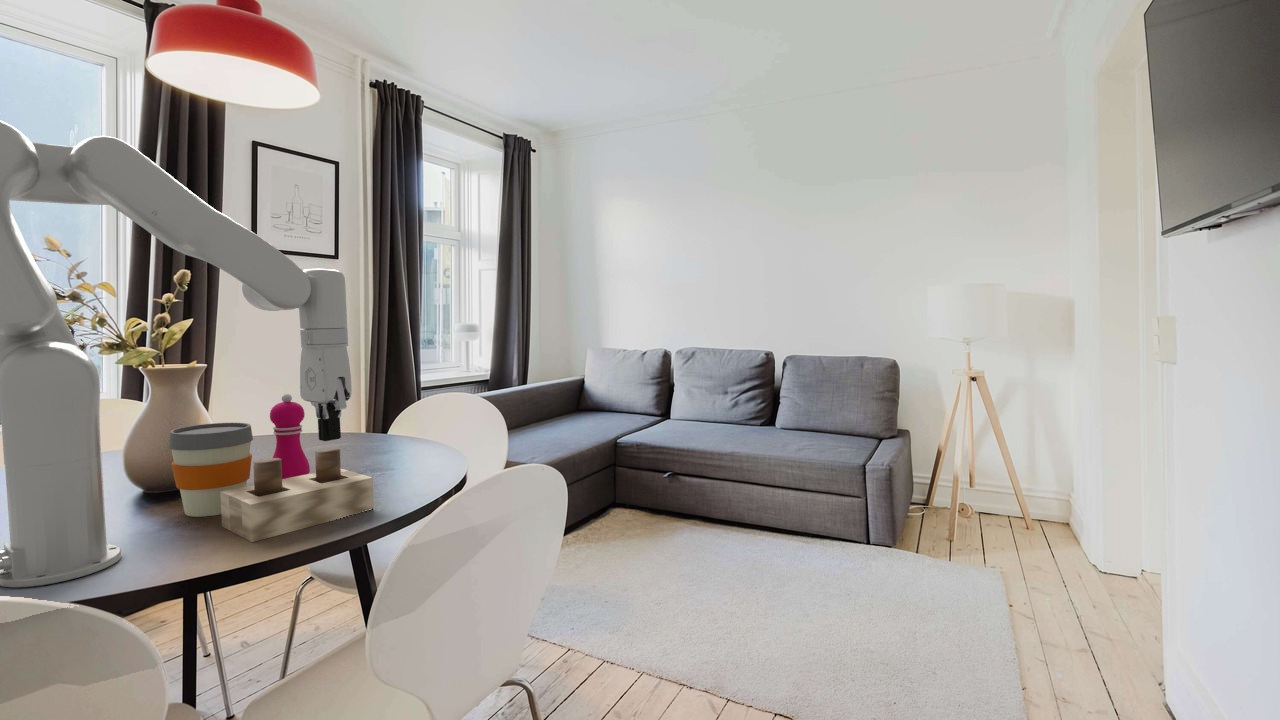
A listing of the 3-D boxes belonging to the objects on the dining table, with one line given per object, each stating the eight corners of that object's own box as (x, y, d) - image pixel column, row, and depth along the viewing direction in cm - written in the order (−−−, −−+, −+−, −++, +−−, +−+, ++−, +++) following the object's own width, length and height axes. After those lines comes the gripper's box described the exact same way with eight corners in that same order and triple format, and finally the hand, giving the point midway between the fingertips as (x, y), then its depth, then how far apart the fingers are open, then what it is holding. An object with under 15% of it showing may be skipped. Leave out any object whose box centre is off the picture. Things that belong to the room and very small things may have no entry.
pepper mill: (291, 498, 116) (288, 396, 115) (260, 496, 118) (256, 395, 116) (318, 488, 123) (315, 392, 122) (288, 486, 125) (285, 391, 123)
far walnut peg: (323, 487, 106) (321, 454, 105) (312, 483, 108) (311, 451, 108) (345, 482, 109) (344, 450, 109) (334, 478, 111) (333, 447, 111)
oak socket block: (252, 542, 93) (250, 504, 93) (221, 526, 100) (220, 491, 100) (373, 509, 109) (372, 477, 109) (340, 498, 116) (339, 467, 116)
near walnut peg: (260, 500, 98) (259, 464, 97) (250, 496, 100) (249, 461, 100) (286, 495, 101) (285, 460, 101) (276, 491, 103) (275, 457, 103)
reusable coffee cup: (271, 500, 115) (268, 423, 114) (216, 521, 103) (212, 435, 102) (214, 497, 117) (210, 421, 116) (153, 518, 105) (148, 433, 104)
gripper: (283, 338, 108) (289, 438, 110) (324, 340, 100) (329, 448, 101) (325, 337, 114) (330, 431, 116) (367, 338, 106) (371, 440, 107)
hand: (329, 439), depth 108 cm, fingers closed
